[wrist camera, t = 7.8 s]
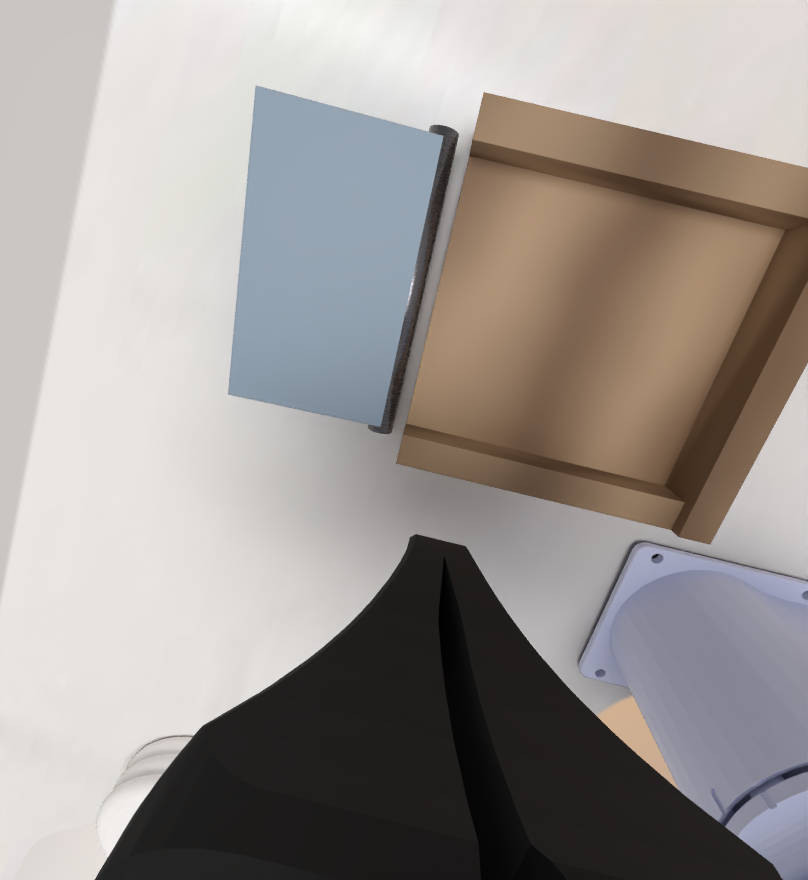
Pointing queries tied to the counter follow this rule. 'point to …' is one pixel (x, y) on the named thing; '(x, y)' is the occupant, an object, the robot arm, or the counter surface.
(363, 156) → the tailgate
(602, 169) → the wooden tray
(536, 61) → the counter surface
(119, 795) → the coaster
